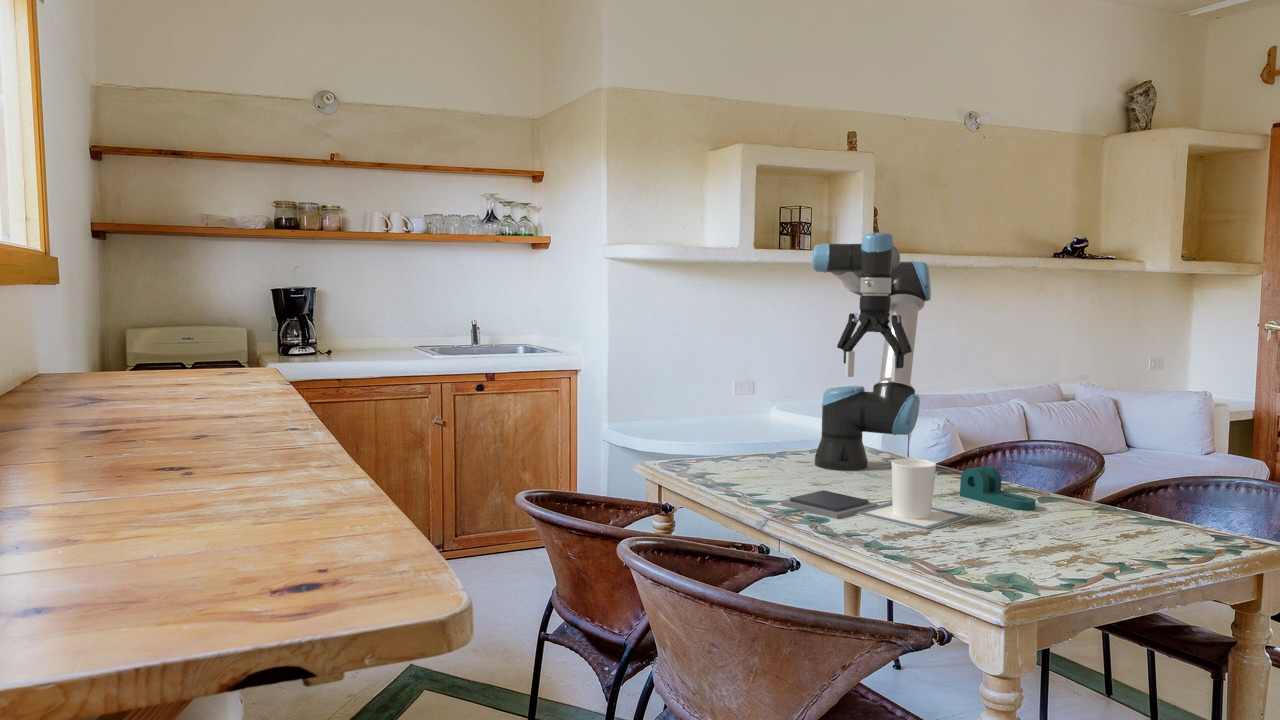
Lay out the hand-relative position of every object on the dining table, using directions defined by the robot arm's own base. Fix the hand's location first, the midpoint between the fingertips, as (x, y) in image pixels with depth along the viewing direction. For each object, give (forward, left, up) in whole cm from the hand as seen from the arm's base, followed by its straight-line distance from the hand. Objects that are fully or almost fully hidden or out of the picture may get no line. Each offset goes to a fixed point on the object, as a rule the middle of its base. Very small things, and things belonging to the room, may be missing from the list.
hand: (872, 379), depth 225 cm
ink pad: (+22, +4, -29) cm, 36 cm away
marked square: (+14, +21, -29) cm, 38 cm away
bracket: (-15, +27, -29) cm, 43 cm away
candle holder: (+14, +21, -29) cm, 38 cm away
